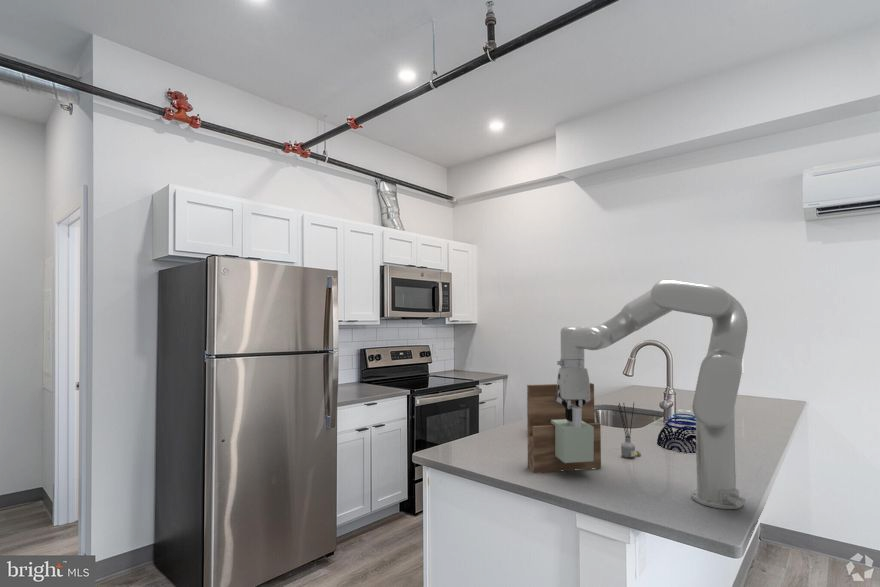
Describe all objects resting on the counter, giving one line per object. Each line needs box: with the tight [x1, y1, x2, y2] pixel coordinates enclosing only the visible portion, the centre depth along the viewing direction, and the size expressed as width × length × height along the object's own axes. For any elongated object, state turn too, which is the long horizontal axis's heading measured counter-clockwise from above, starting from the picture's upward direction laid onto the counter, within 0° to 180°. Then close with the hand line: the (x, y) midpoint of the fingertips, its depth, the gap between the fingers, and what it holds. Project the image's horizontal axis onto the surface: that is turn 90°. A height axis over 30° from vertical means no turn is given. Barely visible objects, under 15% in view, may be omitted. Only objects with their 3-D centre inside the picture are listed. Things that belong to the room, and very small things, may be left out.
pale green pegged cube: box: [551, 404, 594, 463], centre depth 157 cm, size 11×10×17 cm
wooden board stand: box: [526, 382, 602, 474], centre depth 163 cm, size 6×24×28 cm, turn 101°
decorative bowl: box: [656, 408, 696, 454], centre depth 189 cm, size 20×20×14 cm
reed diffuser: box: [617, 402, 642, 458], centre depth 176 cm, size 10×7×20 cm
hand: (573, 420), depth 156 cm, fingers closed on pale green pegged cube
